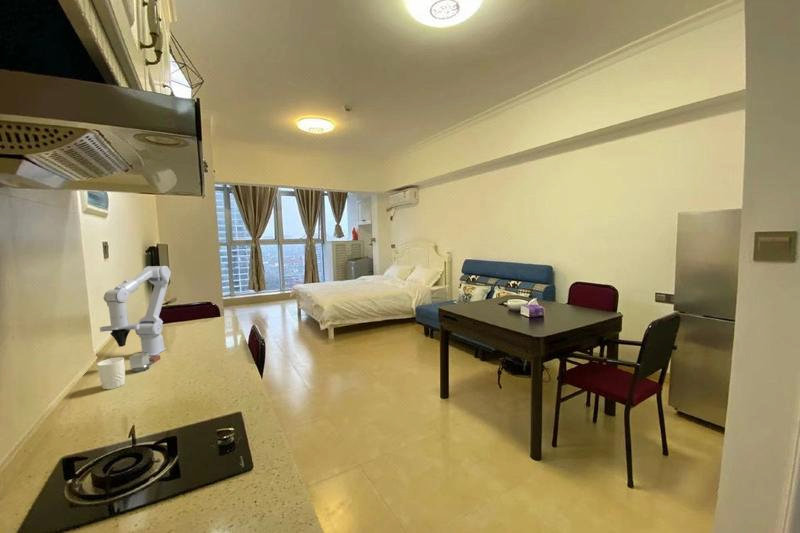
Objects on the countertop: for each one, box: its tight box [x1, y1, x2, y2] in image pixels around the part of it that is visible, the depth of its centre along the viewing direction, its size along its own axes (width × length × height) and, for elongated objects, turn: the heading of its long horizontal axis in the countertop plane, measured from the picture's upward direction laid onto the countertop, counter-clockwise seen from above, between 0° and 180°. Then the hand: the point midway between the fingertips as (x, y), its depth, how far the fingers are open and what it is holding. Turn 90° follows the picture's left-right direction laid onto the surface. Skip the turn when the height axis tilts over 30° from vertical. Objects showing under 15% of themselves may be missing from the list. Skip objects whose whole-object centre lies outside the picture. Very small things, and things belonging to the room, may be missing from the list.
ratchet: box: [130, 354, 161, 374], centre depth 147 cm, size 15×6×4 cm, turn 9°
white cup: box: [96, 357, 126, 390], centre depth 127 cm, size 8×8×10 cm
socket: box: [128, 352, 150, 369], centre depth 142 cm, size 5×5×5 cm
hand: (122, 345), depth 146 cm, fingers closed
